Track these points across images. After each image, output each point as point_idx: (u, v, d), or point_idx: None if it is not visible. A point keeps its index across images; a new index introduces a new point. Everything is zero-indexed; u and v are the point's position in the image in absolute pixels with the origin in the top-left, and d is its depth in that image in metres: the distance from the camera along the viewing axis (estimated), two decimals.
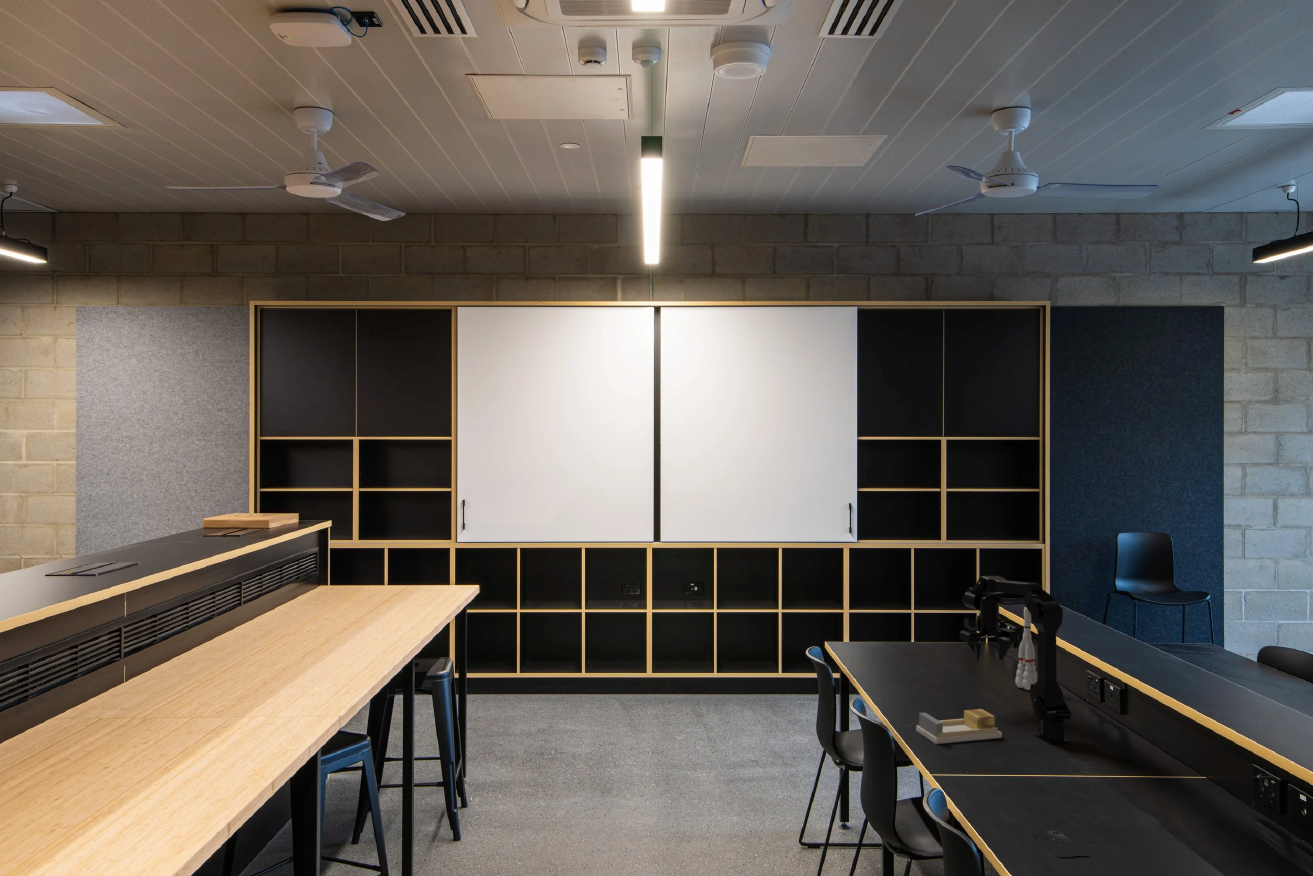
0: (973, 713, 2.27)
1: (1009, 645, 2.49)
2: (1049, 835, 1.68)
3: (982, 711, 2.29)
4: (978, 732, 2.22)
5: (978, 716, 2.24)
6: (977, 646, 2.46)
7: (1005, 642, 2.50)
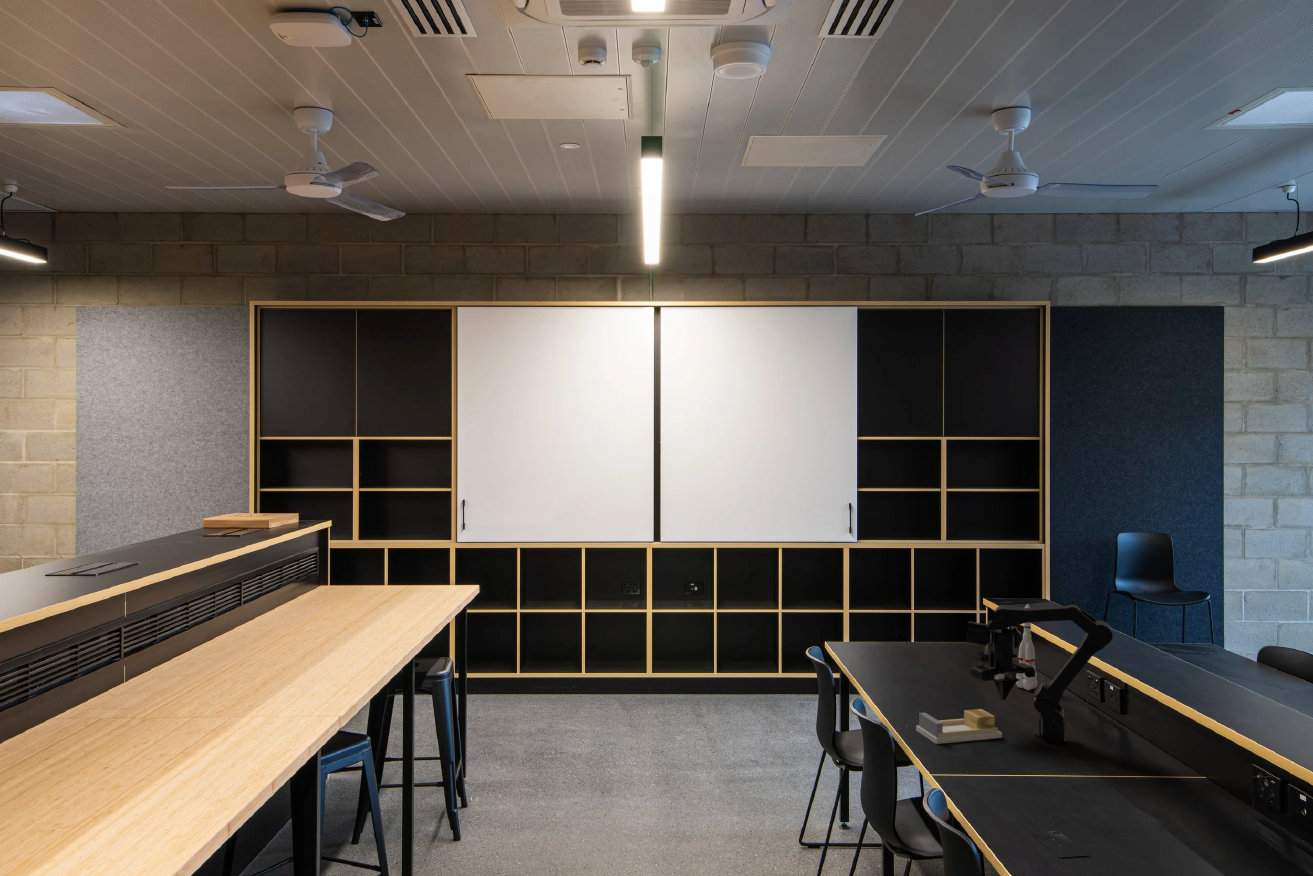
0: (973, 713, 2.27)
1: (1013, 683, 2.27)
2: (1049, 835, 1.68)
3: (982, 711, 2.29)
4: (978, 732, 2.22)
5: (978, 716, 2.24)
6: (1003, 683, 2.26)
7: (1008, 680, 2.27)
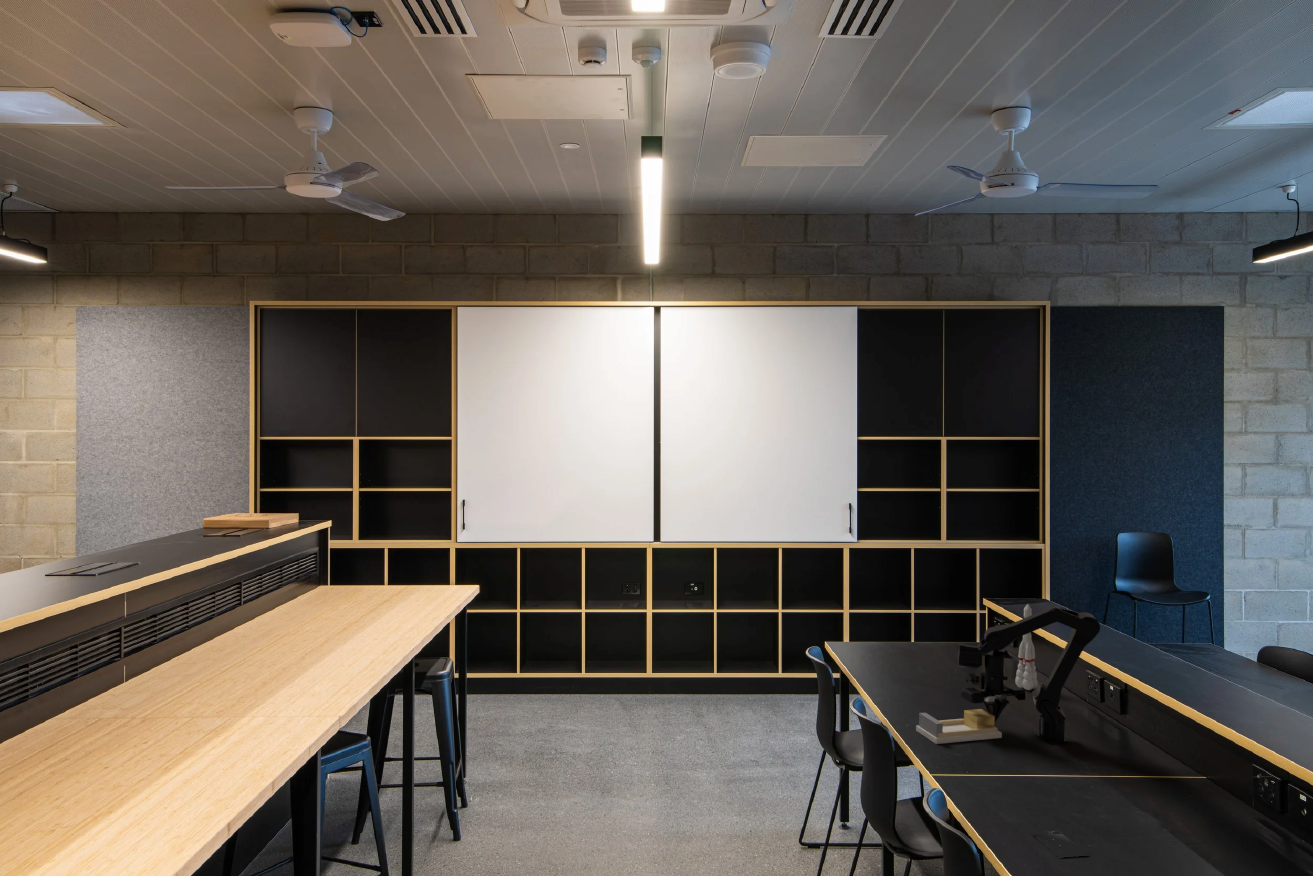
0: (973, 713, 2.27)
1: (1003, 705, 2.26)
2: (1049, 836, 1.68)
3: (982, 711, 2.29)
4: (978, 732, 2.22)
5: (978, 716, 2.24)
6: (993, 706, 2.25)
7: (999, 702, 2.27)
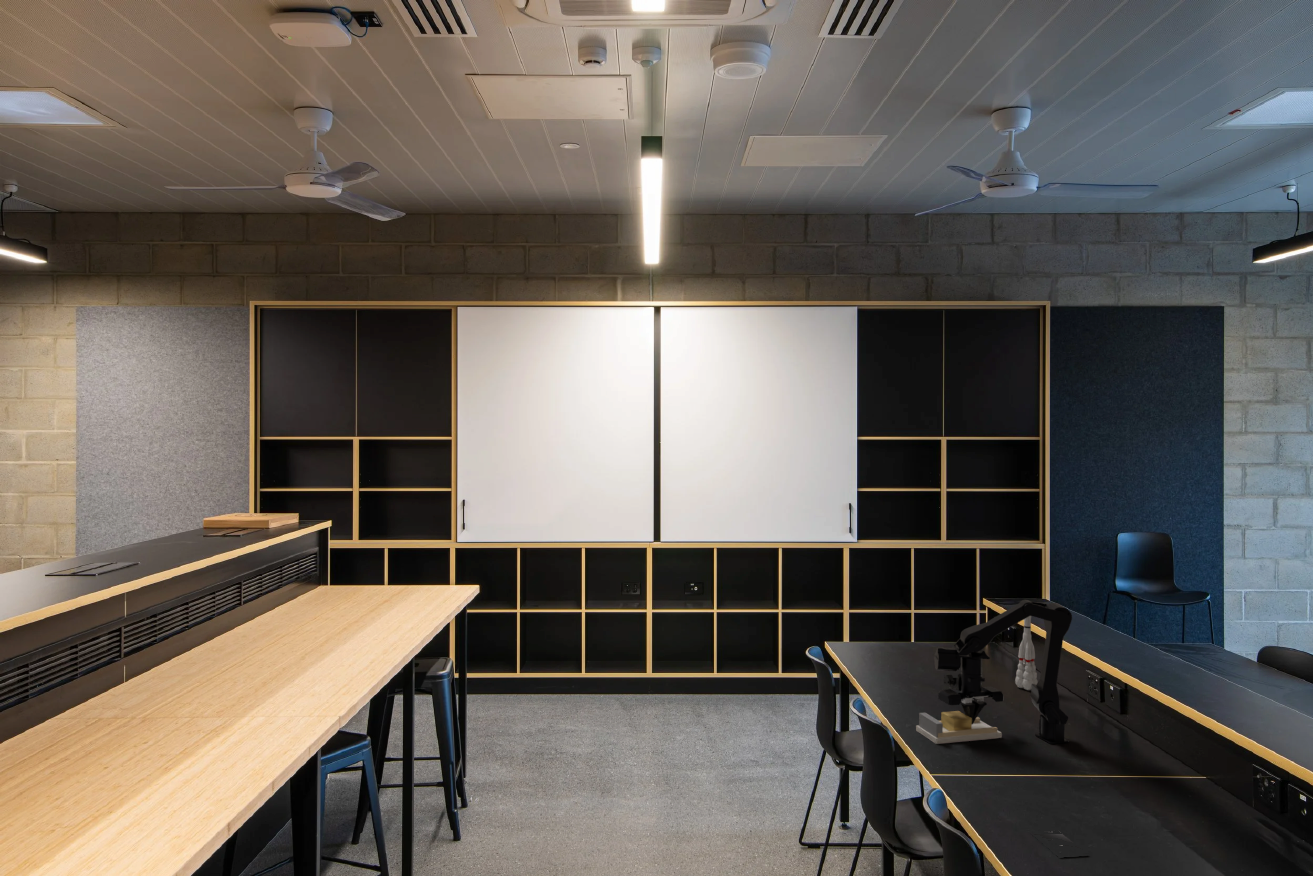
0: (950, 715, 2.25)
1: (980, 707, 2.24)
2: (1049, 836, 1.68)
3: (959, 713, 2.27)
4: (978, 732, 2.22)
5: (955, 718, 2.22)
6: (970, 707, 2.23)
7: (976, 704, 2.25)
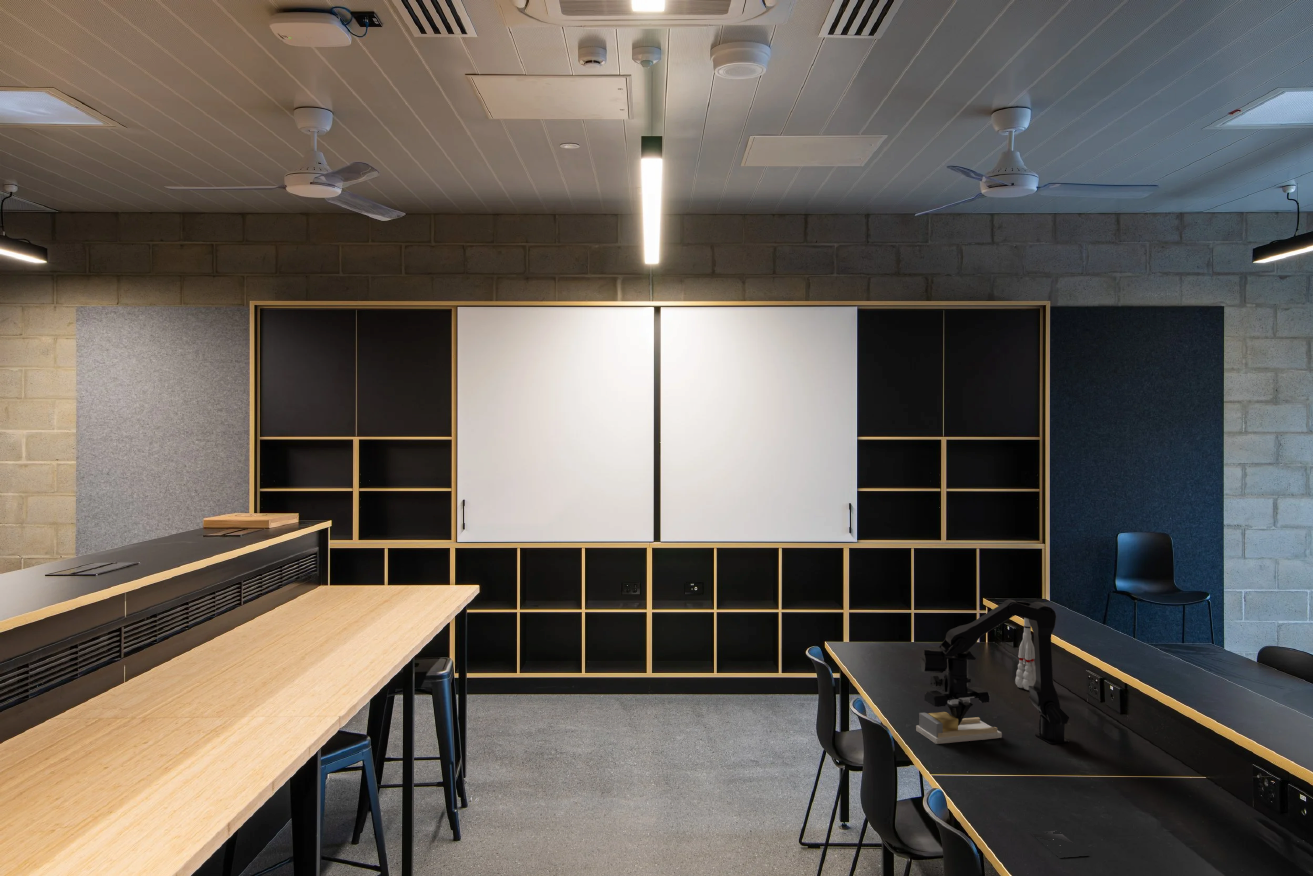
0: (937, 716, 2.24)
1: (966, 708, 2.23)
2: (1049, 836, 1.68)
3: (946, 714, 2.26)
4: (978, 732, 2.22)
5: (941, 719, 2.21)
6: (957, 709, 2.22)
7: (962, 705, 2.24)
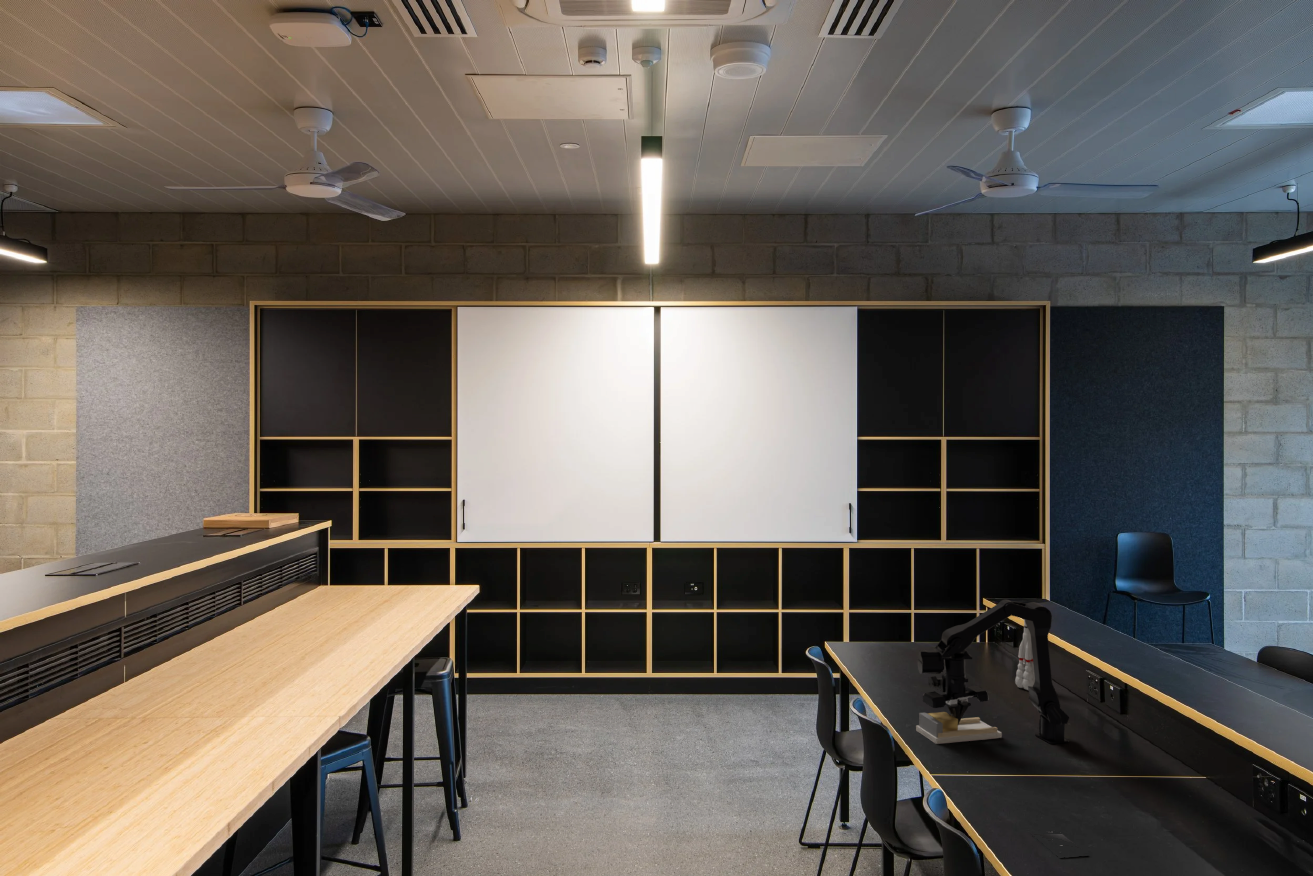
0: (936, 716, 2.24)
1: (965, 708, 2.23)
2: (1049, 836, 1.68)
3: (946, 714, 2.26)
4: (978, 732, 2.22)
5: (941, 719, 2.21)
6: (956, 709, 2.22)
7: (960, 705, 2.24)
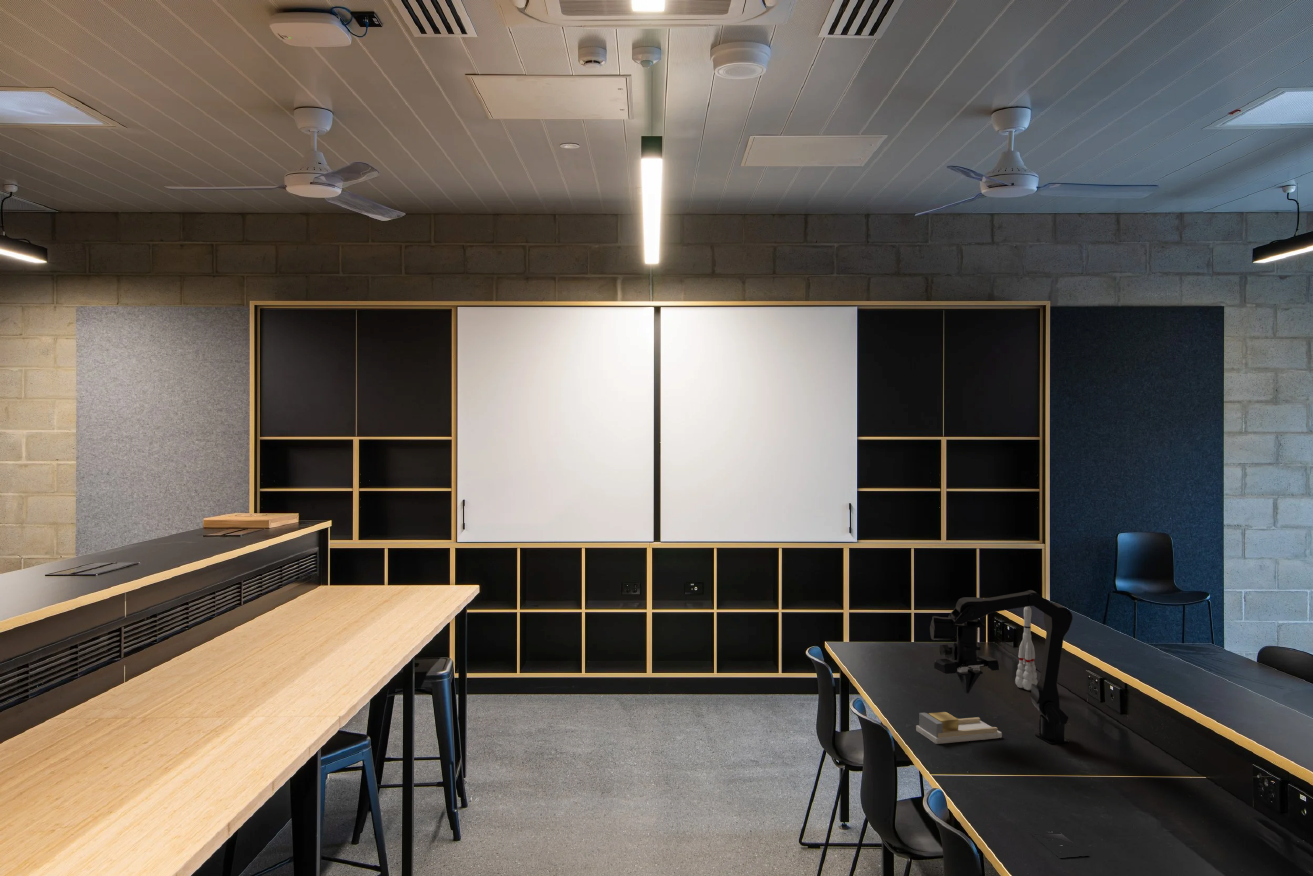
0: (937, 716, 2.24)
1: (976, 676, 2.24)
2: (1049, 836, 1.68)
3: (946, 714, 2.26)
4: (978, 732, 2.22)
5: (942, 719, 2.21)
6: (966, 676, 2.23)
7: (972, 673, 2.25)
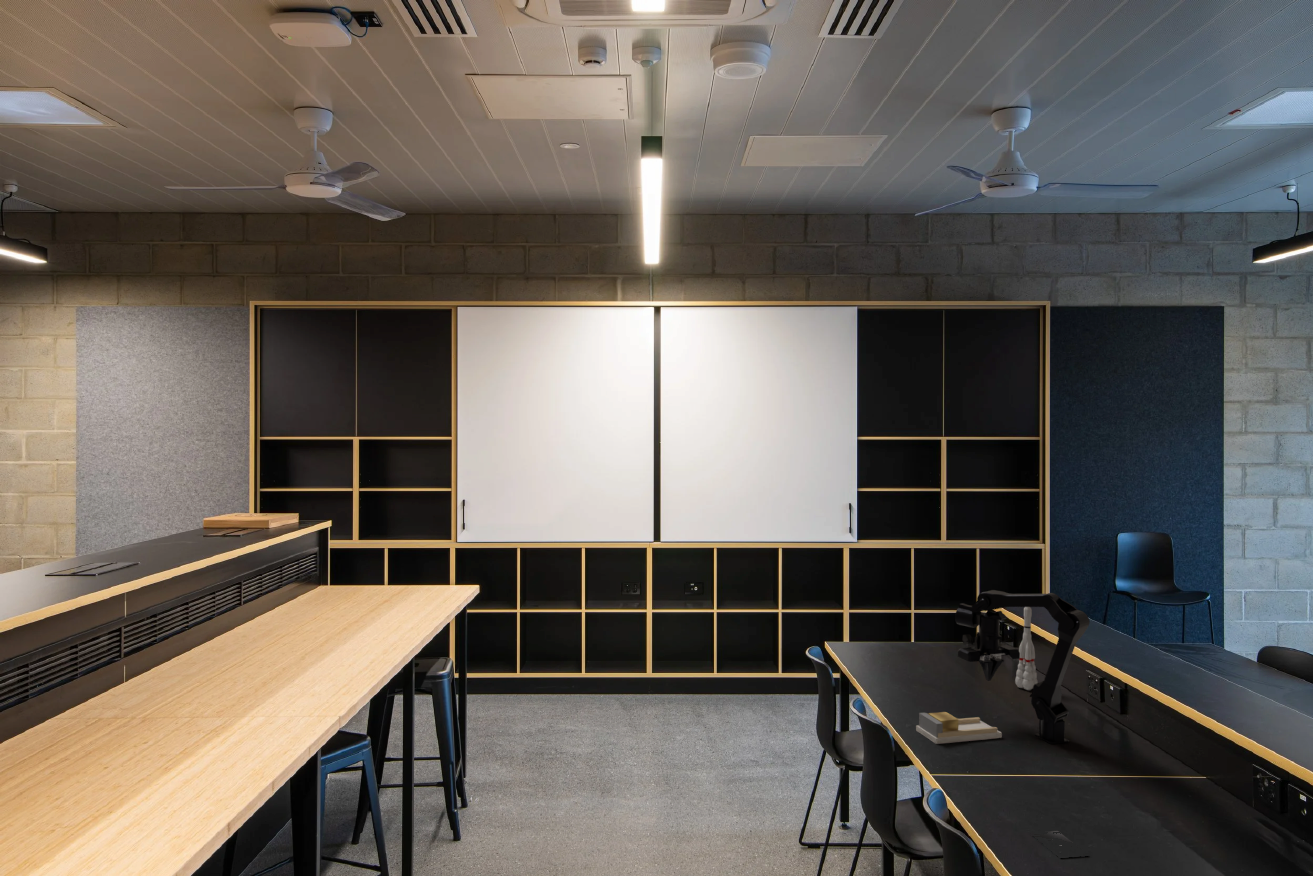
0: (937, 716, 2.24)
1: (998, 664, 2.36)
2: (1049, 836, 1.68)
3: (946, 714, 2.26)
4: (978, 732, 2.22)
5: (942, 719, 2.21)
6: (989, 664, 2.35)
7: (994, 661, 2.37)
